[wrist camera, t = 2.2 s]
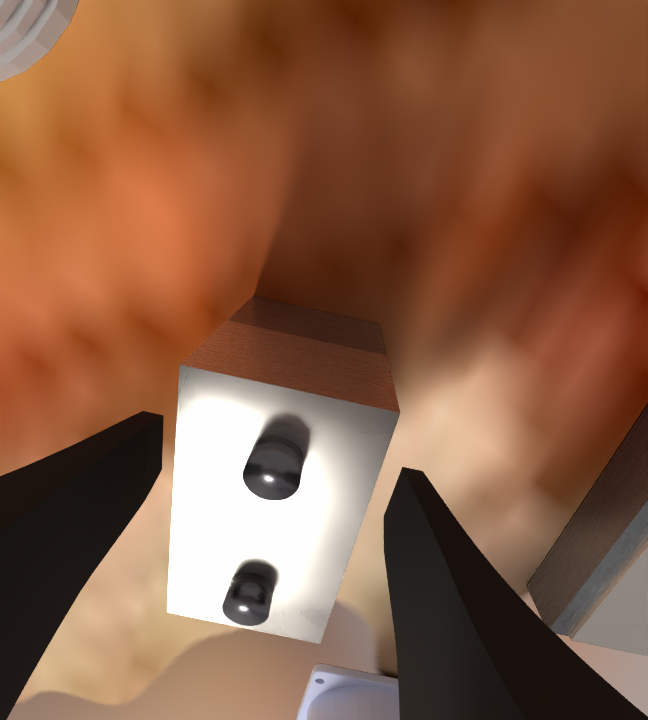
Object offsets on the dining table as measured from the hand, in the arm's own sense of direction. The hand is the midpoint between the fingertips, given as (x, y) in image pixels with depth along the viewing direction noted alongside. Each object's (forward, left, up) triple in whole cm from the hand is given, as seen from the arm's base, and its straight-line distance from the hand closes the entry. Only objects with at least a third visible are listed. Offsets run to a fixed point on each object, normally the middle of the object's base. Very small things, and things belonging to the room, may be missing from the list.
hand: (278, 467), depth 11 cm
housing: (0, 0, -4) cm, 4 cm away
